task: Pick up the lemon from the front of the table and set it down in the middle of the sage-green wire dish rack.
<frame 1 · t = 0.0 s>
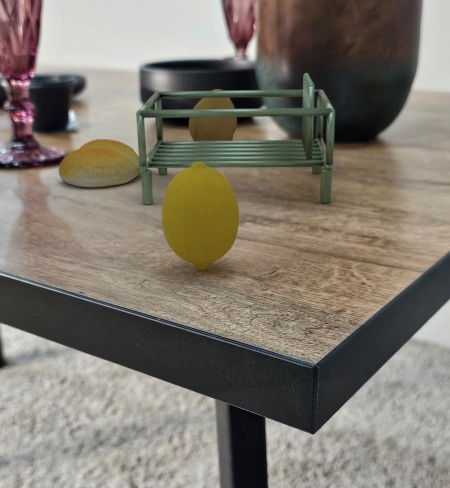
dish rack: (237, 186, 76), on the table
bread roll: (101, 180, 81), on the table
lemon: (202, 271, 55), on the table
potato: (216, 159, 90), on the table
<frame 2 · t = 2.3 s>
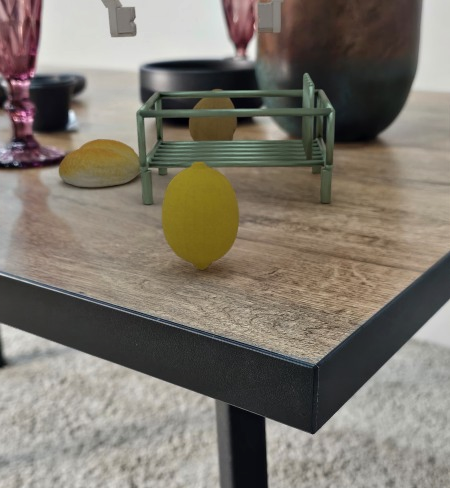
hand: (196, 34, 48), 16 cm above the table, tool pointing down, fingers open, 8 cm apart
nothing on the table moved.
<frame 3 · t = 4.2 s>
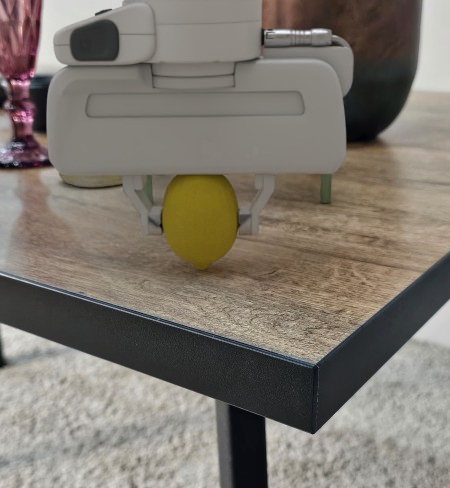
hand: (200, 233, 53), 3 cm above the table, tool pointing down, fingers closed on lemon, 5 cm apart
lemon: (202, 272, 55), on the table, touching gripper
everything else where it was.
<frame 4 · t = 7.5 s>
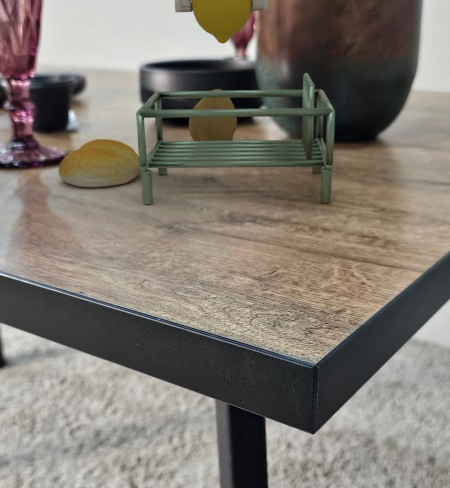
hand: (221, 11, 67), 17 cm above the table, tool pointing down, fingers closed on lemon, 5 cm apart
lemon: (222, 46, 68), point 14 cm above the table, touching gripper
everything else where it was.
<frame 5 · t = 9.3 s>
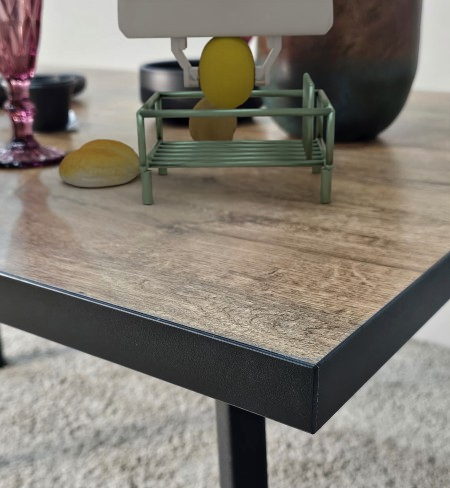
hand: (226, 86, 73), 10 cm above the table, tool pointing down, fingers closed on lemon, 5 cm apart
lemon: (227, 116, 74), point 7 cm above the table, touching gripper
everything else where it was.
when the fingers open (6 cm above the table, at t = 10.8 s): lemon stays where it is, resting on dish rack.
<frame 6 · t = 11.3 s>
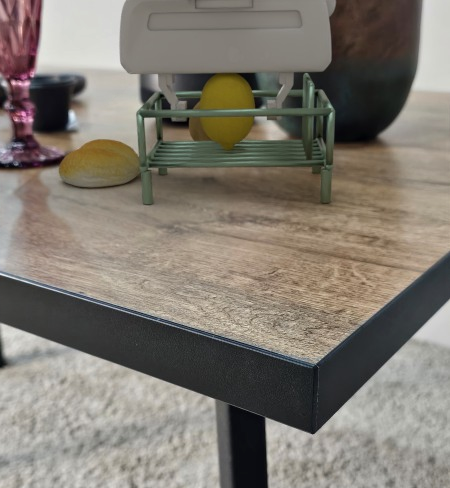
hand: (226, 120, 74), 7 cm above the table, tool pointing down, fingers open, 8 cm apart
lemon: (227, 152, 75), point 4 cm above the table, touching dish rack
everything else where it was.
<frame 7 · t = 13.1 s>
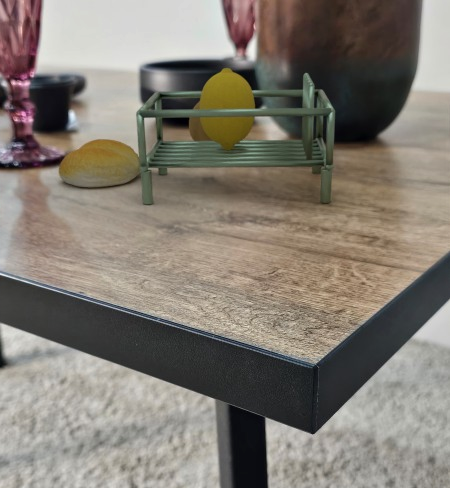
nothing on the table moved.
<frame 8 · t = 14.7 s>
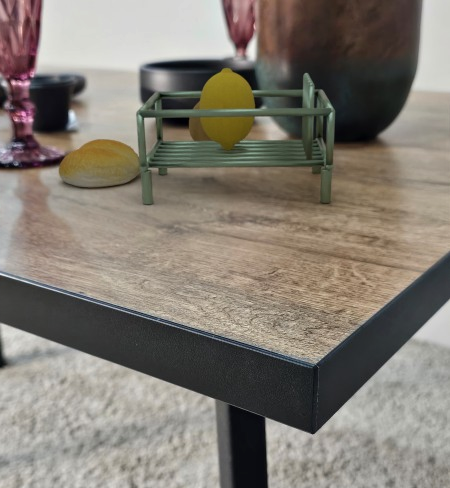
nothing on the table moved.
at the end: lemon inside the target area on the dish rack (0.5 cm from its centre), point 3.6 cm above the dish rack's base; the gripper is holding nothing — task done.
